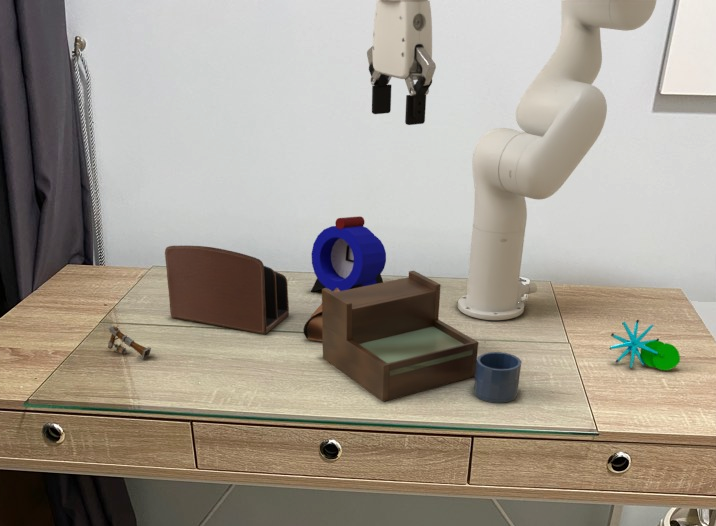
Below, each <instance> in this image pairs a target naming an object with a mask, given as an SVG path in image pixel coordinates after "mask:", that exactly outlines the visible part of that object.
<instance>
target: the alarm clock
mask: <svg viewBox="0 0 716 526" xmlns="http://www.w3.org/2000/svg"><path fill="white" fill-rule="evenodd" d="M386 262H387V252H386V249H385V246H384V244H383V242H382V239H380V238H379V237H378V236H376V235H375V234H374V233H373V232H372V231H371V230H370V229H369V228H368V227H366V226H365V219H364V217H363V216H347V217H338V218H336V220H335V225H332V226H329V227H326V228H323V230H322V231H321V232H320V233H318V235H317V236H316V238H315V240H314V242H313V246H312V249H311V265H312V268H313V272H314V275H315V276H316V279H315V281H314V284H313V286H312V288H311V290H310V293H313V292H316V291H320V290H322V289H324V288H328V289H330V290H331V291H334V290H335V289H336V288H338V289H339V290H340V291H344V290H349V289H353V288H358V287H363V286H368V285H373V284H378V283H383V282H384V280H383V277H382V275H381V274H382V273H383V271H384V269H385V266H386Z"/></svg>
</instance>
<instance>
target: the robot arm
mask: <svg viewBox="0 0 716 526" xmlns="http://www.w3.org/2000/svg"><path fill="white" fill-rule="evenodd" d="M656 5H657V0H561V1H560V8H561V11H560V13H561V26H560V36H559V41H558V44H557V46H556V48H555V50H554V52H553V53H552V54H551V56H550V58H549V59H548V60H547V62H546V63H545V65H544V66H543V67H542V69H541V70H540V71H539V73H538V74H536V76H535V78H534V80H532V82H531V83H530V85H529V86H528V88H527V89H526V90H525V91H524V93H523V94H522V96H521V97H520V99H519V101H518V104H517V105H516V109H515V119H516V120H515V121H516V124H517V126H518V127H519V128H520V129H521V130H522V131H521V130H518V129H513V128H507V127H499V128H493V129H491V130H489V131H487V132H485V133H484V134H483V135H482V136H481V137H480V138H479V140H478V141H477V142H476V144H475V147H474V149H473V153H472V160H471V161H472V165H471V167H472V178H473V186H474V187H473V188H474V190H473V191H474V206H473V220H472V231H471V242H470V253H469V263H468V277H467V288H466V294H464V295H462V296H461V297H459V299H458V300H457V308H458V310H459V311H460V312H461V313H462V314H464V315H465V316H468V317H471V318H474V319H479V320H485V321H506V320H512V319H514V318H517V317H519V316H522V314H523V313H524V311H525V303H524V302H523V301H522V298H523V297H525V295H531V294H534V293H536V292H537V291H538V286H537V284H536V282H530V283H525V284H523V282H522V281H521V280H520V276H521V267H522V260H523V252H524V244H525V243H524V242H525V236H526V227H527V219H528V213H527V212H528V209H527V208H528V207H527V201H526V198H528V199H533V200H545V199H548V198H550V197H551V196H553V195H554V194H555V193H557V191H559V190H560V189H561V188H562V187H563V185H564V184H565V183H566V181H567V180H568V179H569V178H570V176H571V175H572V173H574V171H575V169H576V168H577V167H578V166H579V164H580V163H581V162H582V161H583V159H584V158H585V156H586V155H587V154H588V153H589V151H590V150H591V148H592V147H593V146H594V144H595V143H596V142H597V140H598V138H599V136H600V135H601V133H602V131H603V128H604V126H605V122H606V118H607V112H608V105H607V100H606V97H605V95H604V94H603V92H602V91H601V89H599V87H597V86H595V85H593V83H595V80H596V79H597V77H598V76H599V73H600V71H601V68H602V65H603V64H602V63H603V52H602V51H603V50H602V40H601V29H609V30H616V31H623V32H624V31H626V32H627V31H634V30H637V29H639V28H641V27H643V26H644V25H645V24H646V23H647V22H648V21H649V20H650V18H651V17H652V15H653V14H654V11H655V8H656ZM432 19H433V18H432V8H431V1H430V0H376V4H375V10H374V19H373V20H374V21H373V31H372V46H371V47H369V48H368V50H367V51H366V57H367V62H368V72H369V74H370V76H371V77H370V84H371V86H372V87H371V113H372V114H373V115H383V114H390V113H391V110H392V109H391V108H392V84H389V83H390V81H391V79H392V78H395V79H400V80H404V81H405V86H406V88H407V91H408V94H406V95H405V117H404V118H405V119H404V123H405V125H406V126H414V125H423V124H425V121H426V110H427V109H426V105H427V95H428V94H429V93H430V87H431V86H432V84H433V77H434V74H435V72H436V68H437V65H436V63H435V61H434V60H433V22H432V21H433V20H432ZM415 81H416V82H415ZM521 301H522V302H521ZM518 302H519V303H518Z"/></svg>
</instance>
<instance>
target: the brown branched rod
mask: <svg viewBox="0 0 716 526" xmlns="http://www.w3.org/2000/svg"><path fill="white" fill-rule="evenodd" d="M107 328H108V331H109V333H111V335H110V339H109V341H108V346H107V348H108V349H109V350H111V349H113V347H114V348H115V351H116V352H119V353H120V354H121V355H122V354H124V355H126V354H127V353H128V351H127V349H126V348H127V347H124V346H122V344H121V343H120V344H118V343H117V344H115V341H117V340H119V339H120V340H121V342H122V343H123V344H125V345H126V346H128V347H129V348H132V349H134V350H135V352H137V353H138V354H139V355H140V356H141V358H140V359H141V360H145V359H147V358H148V357H149V356H150V354H151V350H152V347H150V346H148V347H145V346H143V345H142V344H139V343H136V342H135V340H134V339H132V338H131V337H130V336H128V335H127V334H124V333H123V332H121V330H120V329H119V327H118V326H115V325H113V326H112V325H109V326H108V327H107Z"/></svg>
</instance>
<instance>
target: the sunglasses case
mask: <svg viewBox="0 0 716 526" xmlns="http://www.w3.org/2000/svg"><path fill="white" fill-rule="evenodd" d="M339 291H340V290H339V289H338V288H336V289H335V290H334V291H333V292H339ZM303 335H304V337H305V338H306V339H307V340H308V341H313V342H316V343H317V342H318V343H323V334H322V303H320V305H319V306H318V307H317V308H316V309H315V311H313V313H312V314H311V316H310V317H309V318H308V319H307V321H306V322H305V324H304V326H303Z"/></svg>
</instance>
